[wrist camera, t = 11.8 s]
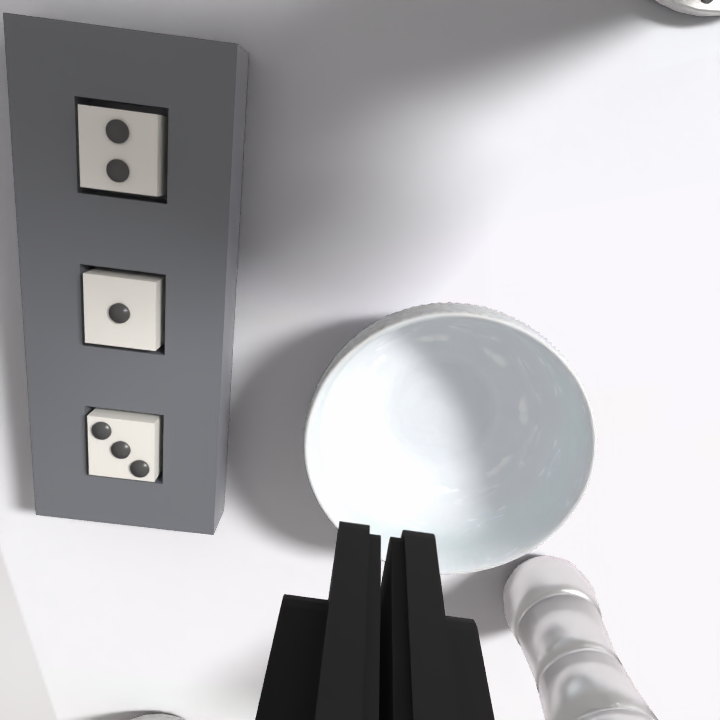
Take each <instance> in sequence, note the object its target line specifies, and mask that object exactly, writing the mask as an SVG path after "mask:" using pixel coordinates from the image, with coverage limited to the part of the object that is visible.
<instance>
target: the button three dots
mask: <svg viewBox="0 0 720 720" xmlns="http://www.w3.org/2000/svg"><path fill="white" fill-rule="evenodd" d="M87 423H88V455H89V475H97V476H106V477H115V478H123V479H132V480H141V481H149V482H154V481H155V480H156V478H157V477H158V475H159V474H160V472H161V471H162V470H163V434H164V415H158V414H150V413H141V412H133V411H124V410H116V409H107V408H99V407H96V408H95V409H94V410H93V411H92V412H91V413H90V414H88V415H87Z"/></svg>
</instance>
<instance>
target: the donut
mask: <svg viewBox="0 0 720 720" xmlns="http://www.w3.org/2000/svg"><path fill="white" fill-rule="evenodd" d="M130 720H184V719H182V718H180V717H177V716H172V715H168V714H148V715H143V716H139V717H136V718H133V719H130Z"/></svg>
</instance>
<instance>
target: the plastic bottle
mask: <svg viewBox="0 0 720 720" xmlns="http://www.w3.org/2000/svg"><path fill="white" fill-rule="evenodd" d="M503 601H504V613H505V617H506V620H507V623H508V625H509V627H510V629H511V631H512V633H513V635H514V637H515V638H516V640H517V641H518V643H519V645H520V646H521V648H522V650H523V653H524V655H525V657H526V660H527V662H528V664H529V667H530V669H531V671H532V674H533V676H534V678H535V682H536V686H537V689H538V692H539V697H540V701H541V705H542V708H543V712H544V716H545V720H658V719H657V718H656V716H655V715H654V713H653V712H652V710H651V709H650V708H649V706H648V705H647V703H646V702H645V701H644V699H643V698H642V696H641V695H640V694H639V692H638V691H637V689H636V688H635V686H634V685H633V683H632V681H631V679H630V678H629V676H628V674H627V672H626V671H625V669H624V667H623V666H622V664H621V662H620V660H619V659H618V657H617V655H616V653H615V651H614V648H613V646H612V643H611V641H610V638H609V636H608V633H607V631H606V628H605V626H604V623H603V621H602V616H601V612H600V608H599V604H598V601H597V598H596V595H595V592H594V589H593V587H592V585H591V584H590V582H589V581H588V579H587V578H586V577H585V576H584V575H583V574H582V572H581V571H580V570H579V569H578V568H577V567H576V566H575V565H573V564H572V563H571V562H569V561H566V560H564V559H561V558H557V557H552V556H539V557H534V558H531V559H528V560H526V561H524V562H523V563H521V564H520V565H519V566H517V567H516V568H515V569H514V571H513V572H512V573H511V575H510V576H509V578H508V579H507V581H506V584H505V586H504V591H503Z"/></svg>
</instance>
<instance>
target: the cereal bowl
mask: <svg viewBox="0 0 720 720" xmlns="http://www.w3.org/2000/svg"><path fill="white" fill-rule="evenodd" d="M303 448H304V461H305V466H306V472H307V476H308V479H309V482H310V485H311V488H312V491H313V493H314V495H315V497H316V499H317V501H318V503H319V504H320V506H321V508H322V510H323V511H324V513H325V514H326V516H327V517H328V518H329V520H330V521H331V522H332V523H333V525H334V526H335V527H336V528H337V529H338V527H339V521H343V522H351V523H358V524H365V525H370V534H376V535H381V561H384V562H385V560H386V554H387V549H388V543H389V539H390V537H398V538H401V534H402V531H403V530H410V531H417V532H425V533H432V534H434V535H435V539H436V546H437V554H438V562H439V570H440V575H452V574H465V573H472V572H478V571H482V570H486V569H490V568H494V567H497V566H500V565H503V564H506V563H508V562H511V561H513V560H515V559H517V558H519V557H521V556H523V555H525V554H527V553H529V552H531V551H532V550H534V549H536V548H537V547H539V546H540V545H541V544H543V543H544V542H545V541H547V540H548V539H549V538H550V537H552V536H553V535H554V534H555V533H556V532H557V531H558V530H559V529H560V528H561V527H562V526H563V525H564V524H565V522H566V521H567V520H568V519H569V518H570V516H571V515H572V514H573V512H574V511H575V509H576V508H577V506H578V505H579V503H580V501H581V500H582V498H583V496H584V494H585V492H586V489H587V487H588V485H589V482H590V479H591V476H592V473H593V469H594V465H595V459H596V450H597V432H596V424H595V419H594V414H593V410H592V407H591V404H590V401H589V398H588V396H587V393H586V391H585V389H584V387H583V384H582V383H581V381H580V379H579V377H578V375H577V374H576V372H575V370H574V369H573V368H572V367H571V365H570V364H569V362H568V361H567V359H565V357H564V356H563V355H562V354H561V353H560V352H559V350H557V349H556V348H555V347H554V346H553V345H552V344H551V342H549V341H548V340H547V339H546V338H544V337H543V336H542V335H540V333H539V332H537V331H535V330H534V329H532V328H531V327H530V326H529V325H526V324H525V323H523V322H521V321H519V320H517V319H515V318H514V317H511V316H508V315H506V314H504V313H503V312H498V311H496V310H493V309H489V308H487V307H481V306H477V305H471V304H461V303H451V302H448V303H436V304H435V303H431V304H428V305H420V306H416V307H411V308H409V309H404V310H402V311H399V312H395V313H393V314H391V315H387V316H386V317H384V318H383V319H379V320H377V321H376V322H375V323H372V324H371V325H370V326H369V327H367V328H364V329H363V330H362V331H361V332H360V333H358V334H357V335H356V336H355V337H354V338H353V339H351V340H350V341H349V342H348V343H347V344H346V345H345V346H344V347H343V348H342V350H340V351H339V352H338V354H337V355H336V357H335V358H334V359H333V360H332V361H331V363H330V364H329V366H328V367H327V369H326V371H325V372H324V373H323V376H322V377H321V379H320V381H319V383H318V386H317V387H316V390H315V392H314V395H313V397H312V400H311V402H310V407H309V410H308V413H307V417H306V425H305V428H304V442H303Z"/></svg>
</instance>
